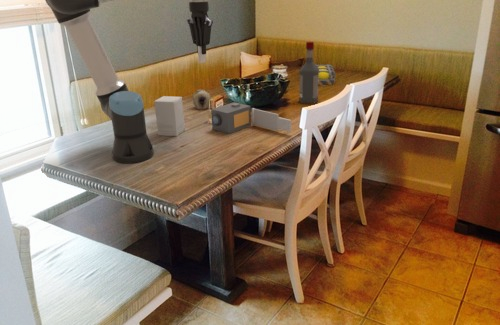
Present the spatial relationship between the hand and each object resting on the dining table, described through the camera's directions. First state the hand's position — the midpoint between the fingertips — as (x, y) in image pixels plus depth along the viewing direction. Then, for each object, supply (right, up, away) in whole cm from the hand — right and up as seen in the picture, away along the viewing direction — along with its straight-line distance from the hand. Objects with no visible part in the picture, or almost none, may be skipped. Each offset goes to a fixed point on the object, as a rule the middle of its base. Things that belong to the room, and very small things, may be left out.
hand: (202, 62), depth 183 cm
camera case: (+11, -26, +13) cm, 31 cm away
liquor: (+50, -10, +49) cm, 71 cm away
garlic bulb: (-4, -14, +43) cm, 46 cm away
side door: (+28, -27, +8) cm, 40 cm away
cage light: (+64, +9, +93) cm, 114 cm away
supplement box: (-14, -28, +9) cm, 33 cm away
